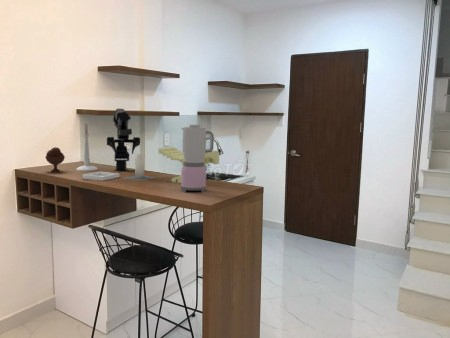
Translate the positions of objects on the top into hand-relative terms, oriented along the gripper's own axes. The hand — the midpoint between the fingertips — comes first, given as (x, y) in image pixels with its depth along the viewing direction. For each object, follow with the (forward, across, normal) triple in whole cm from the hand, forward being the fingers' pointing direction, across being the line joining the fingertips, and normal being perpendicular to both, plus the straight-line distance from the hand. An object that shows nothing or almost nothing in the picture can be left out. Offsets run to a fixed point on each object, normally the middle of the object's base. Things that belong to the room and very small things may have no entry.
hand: (124, 154), depth 212 cm
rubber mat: (+15, +8, +2) cm, 17 cm away
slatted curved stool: (+21, +34, -8) cm, 41 cm away
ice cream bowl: (-4, -39, +30) cm, 50 cm away
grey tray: (+13, -13, +4) cm, 19 cm away
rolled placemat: (+14, +8, +1) cm, 17 cm away
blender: (+36, +32, -30) cm, 57 cm away
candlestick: (-7, -21, +35) cm, 41 cm away
